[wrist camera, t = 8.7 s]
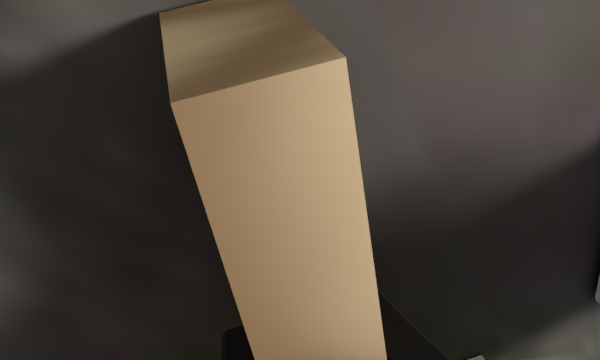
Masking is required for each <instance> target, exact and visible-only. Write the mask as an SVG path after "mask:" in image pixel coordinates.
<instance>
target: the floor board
mask: <svg viewBox="0 0 600 360" xmlns="http://www.w3.org/2000/svg"><path fill="white" fill-rule="evenodd" d="M468 360H485V359H484V358H483V356H482V355H480V356H477V357H474V358H471V359H468Z"/></svg>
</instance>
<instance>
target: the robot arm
mask: <svg viewBox="0 0 600 360" xmlns="http://www.w3.org/2000/svg"><path fill="white" fill-rule="evenodd" d="M377 290H378V297H379V305H380V312H381V319H382V327H383V334H384V341H385V349H386V356H387V360H453V359H451V358H450V357H449V356H448V355H447V354H446V353H444V352H443V351H442V350H441V349H440V348H439V347H438V346H437V345H435V344H434V343H433V342H432V341H431V340H430V339H429V338H428V337H426V336H425V335H424V334H423V333H422V332H421V331H420V330H419V329H418V328H417V327H416V326H415V325H414V324H413V323H412V322H410V321H409V320H408V319H407V318H406V317H405V316H404V315H403V314H402V313H401V312H400V311H399V310H398V308H397V307H396V306H395V305H394V304H393V303H392V302H391V301H390V300H389V299H388V298H387V297H386V296H385V294H384V293H383V292H382V291H381V290H380V289H379V287H377ZM595 300H596V301H597V302H598V303H599V304H600V275H599V280H598V285H597V290H596V294H595ZM222 360H255V359H254V356H253V353H252V350H251V347H250V344H249V341H248V338H247V335H246V332H245V329H244V326H240V327H237V328H234V329H230V330H227V331H225V332H224V334H223V335H222Z"/></svg>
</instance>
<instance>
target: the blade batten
mask: <svg viewBox="0 0 600 360" xmlns="http://www.w3.org/2000/svg"><path fill="white" fill-rule="evenodd" d="M159 17H160V25H161V33H162V41H163V49H164V57H165V65H166V73H167V81H168V89H169V97H170V104H171V107H172V110H173V113H174V116H175V119H176V122H177V125H178V128H179V131H180V134H181V137H182V140H183V143H184V146H185V150H186V153H187V156H188V159H189V162H190V165H191V168H192V171H193V174H194V177H195V180H196V183H197V186H198V189H199V192H200V195H201V198H202V201H203V204H204V207H205V210H206V213H207V216H208V219H209V222H210V225H211V228H212V231H213V235H214V238H215V241H216V244H217V247H218V250H219V253H220V256H221V259H222V262H223V265H224V268H225V271H226V274H227V277H228V280H229V283H230V286H231V289H232V292H233V295H234V298H235V301H236V304H237V307H238V310H239V313H240V316H241V320H242V323H243V326H244V329H245V332H246V335H247V338H248V341H249V344H250V347H251V350H252V353H253V356H254V359H255V360H387V356H386V349H385V341H384V334H383V327H382V319H381V312H380V305H379V297H378V290H377V283H376V275H375V268H374V261H373V253H372V246H371V239H370V231H369V224H368V217H367V209H366V202H365V195H364V187H363V180H362V172H361V165H360V158H359V150H358V143H357V136H356V128H355V121H354V114H353V106H352V99H351V92H350V84H349V77H348V70H347V62H346V57H345V56H344V55H343V54H342V53H341V52H340V51H339V50H338V49H337V48H336V47H335V46H334V45H333V44H332V43H330V42H329V41H328V40H327V39H326V38H325V37H324V36H323V35H322V34H321V33H320V32H319V31H318V30H317V29H316V28H315V27H314V26H313V25H312V24H311V23H310V22H309V21H307V20H306V19H305V18H304V17H303V16H302V15H301V14H300V13H299V12H298V11H297V10H296V9H295V8H294V7H293V6H292V5H291V4H290V3H289V2H288V1H287V0H211V1H207V2H203V3H198V4H194V5H190V6H186V7H182V8H178V9H174V10H170V11H165V12H161V13H159Z"/></svg>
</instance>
